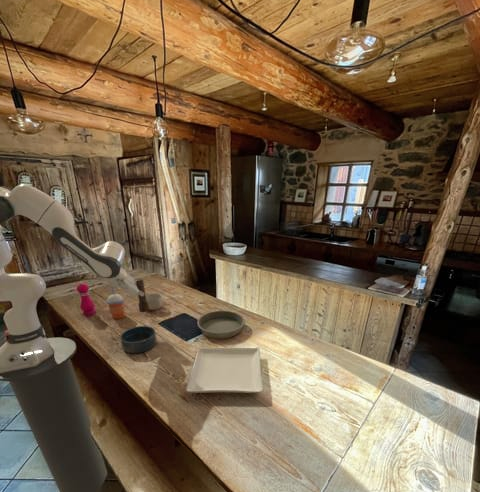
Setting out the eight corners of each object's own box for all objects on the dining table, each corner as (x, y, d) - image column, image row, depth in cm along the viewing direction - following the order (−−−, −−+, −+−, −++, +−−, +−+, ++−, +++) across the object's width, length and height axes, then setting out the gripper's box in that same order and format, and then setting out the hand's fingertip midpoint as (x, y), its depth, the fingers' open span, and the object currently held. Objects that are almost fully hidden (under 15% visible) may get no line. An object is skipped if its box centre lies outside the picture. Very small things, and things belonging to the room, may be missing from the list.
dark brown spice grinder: (140, 312, 129) (135, 281, 123) (138, 309, 133) (133, 279, 127) (150, 310, 132) (145, 279, 125) (147, 307, 135) (142, 277, 129)
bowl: (126, 358, 116) (123, 346, 114) (120, 342, 128) (117, 331, 125) (160, 347, 123) (159, 336, 121) (151, 333, 135) (149, 323, 133)
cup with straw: (107, 316, 154) (100, 287, 146) (123, 311, 159) (117, 283, 152) (113, 321, 148) (106, 291, 140) (129, 316, 153) (123, 287, 146)
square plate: (259, 354, 118) (259, 346, 116) (262, 399, 93) (263, 391, 91) (198, 354, 118) (198, 346, 117) (185, 398, 93) (184, 390, 92)
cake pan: (204, 345, 125) (204, 336, 123) (193, 322, 146) (192, 315, 144) (252, 334, 133) (252, 326, 131) (234, 314, 154) (234, 307, 152)
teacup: (161, 303, 170) (160, 291, 167) (165, 309, 161) (163, 297, 158) (138, 307, 165) (136, 295, 161) (141, 314, 156) (138, 302, 152)
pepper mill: (98, 311, 160) (90, 279, 152) (91, 316, 154) (82, 283, 146) (87, 310, 161) (79, 279, 153) (79, 315, 155) (70, 283, 147)
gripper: (123, 277, 113) (150, 295, 120) (119, 266, 129) (143, 282, 137) (113, 289, 113) (141, 306, 120) (111, 276, 129) (136, 291, 137)
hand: (142, 293), depth 129 cm, fingers closed on dark brown spice grinder, 3 cm apart
